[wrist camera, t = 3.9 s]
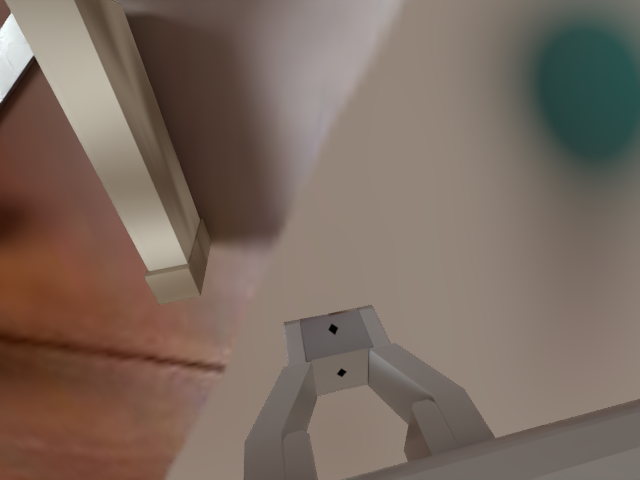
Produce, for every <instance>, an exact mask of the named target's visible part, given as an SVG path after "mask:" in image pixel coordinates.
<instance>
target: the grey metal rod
mask: <svg viewBox="0 0 640 480" xmlns="http://www.w3.org/2000/svg"><path fill="white" fill-rule="evenodd" d="M35 60H36V58H35V56H34V54H33V52H32V50H31V48H30V46H29V45H28V43H27V41H26V39H25V37H24V35H23V33H22V31H21V29H20V28H19V26H18V24H17V22H16V20H15V18H14V16H13V14H12V13H11V14H10V16H9V17H8V19H7V20H6V22H5V23H4V25H3V26H2V28H1V30H0V110H1V108H2V107H3V106H4V104H5V103H6V101H7V100H8V98H9V97H10V96H11V94H12V93H13V91H14V90H15V88H16V87H17V86H18V84H19V83H20V81H21V80H22V78H23V77H24V76H25V74H26V73H27V71H28V70H29V68H30V67H31V66H32V64H33V63H34V61H35Z"/></svg>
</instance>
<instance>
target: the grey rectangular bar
mask: <svg viewBox="0 0 640 480" xmlns="http://www.w3.org/2000/svg"><path fill="white" fill-rule="evenodd" d="M5 1H6V3H7V5H8V7H9V9H10V11H11V12H12V14H13V16H14V18H15V20H16V22H17V24H18V26H19V28H20V29H21V31H22V33H23V35H24V37H25V39H26V41H27V43H28V45H29V46H30V48H31V50H32V52H33V54H34V56H35V58H36V60H37V61H38V63H39V65H40V67H41V69H42V71H43V73H44V75H45V77H46V78H47V80H48V82H49V84H50V86H51V88H52V90H53V92H54V93H55V95H56V97H57V99H58V101H59V103H60V105H61V107H62V109H63V110H64V112H65V114H66V116H67V118H68V120H69V122H70V124H71V125H72V127H73V129H74V131H75V133H76V135H77V137H78V139H79V141H80V142H81V144H82V146H83V148H84V150H85V152H86V154H87V156H88V158H89V159H90V161H91V163H92V165H93V167H94V169H95V171H96V173H97V174H98V176H99V178H100V180H101V182H102V184H103V186H104V188H105V190H106V191H107V193H108V195H109V197H110V199H111V201H112V203H113V205H114V206H115V208H116V210H117V212H118V214H119V216H120V218H121V220H122V222H123V223H124V225H125V227H126V229H127V231H128V233H129V235H130V237H131V238H132V240H133V242H134V244H135V246H136V248H137V250H138V252H139V254H140V255H141V257H142V259H143V261H144V263H145V265H146V267H147V269H148V270H147V272H146V274H145V276H144V277H145V279H146V281H147V283H148V285H149V286H150V288H151V290H152V292H153V294H154V296H155V297H156V299H157V301H158V303H159V305H160V304H165V303H170V302H174V301H179V300H184V299H189V298H194V297H198V296H201V291H202V286H203V281H204V276H205V271H206V266H207V261H208V256H209V251H210V246H211V240H210V237H209V235H208V232H207V229H206V226H205V223H204V221H203V218H199V216H198V213H197V210H196V207H195V205H194V202H193V199H192V197H191V194H190V191H189V188H188V186H187V183H186V180H185V177H184V175H183V172H182V169H181V166H180V164H179V161H178V158H177V155H176V153H175V150H174V147H173V144H172V142H171V139H170V136H169V134H168V131H167V128H166V125H165V123H164V120H163V117H162V114H161V112H160V109H159V106H158V103H157V101H156V98H155V95H154V92H153V90H152V87H151V84H150V81H149V79H148V76H147V73H146V71H145V68H144V65H143V62H142V60H141V57H140V54H139V51H138V49H137V46H136V43H135V40H134V38H133V35H132V32H131V29H130V27H129V24H128V21H127V18H126V16H125V13H124V10H123V8H122V5H121V4H119V3H117V2H114V1H112V0H5Z"/></svg>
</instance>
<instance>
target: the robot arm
mask: <svg viewBox="0 0 640 480" xmlns="http://www.w3.org/2000/svg"><path fill="white" fill-rule="evenodd" d="M284 333H285V342H286V350H287V359H288V366H287V367H284V368H283V370H282V372H281V374H280V375H279V377H278V379H277V381H276V383H275V385H274V387H273V389H272V391H271V393H270V395H269V397H268V398H267V400H266V402H265V404H264V406H263V408H262V410H261V412H260V414H259V416H258V418H257V420H256V422H255V424H254V425H253V428H252V429H251V431H250V433H249V435H248V437H247V439H246V441H245V453H244V454H245V455H244V480H318V478H317V472H316V467H315V462H314V457H313V451H312V446H311V441H310V436H309V433H307V432H306V431H307V428H308V425H309V422H310V419H311V416H312V413H313V410H314V407H315V404H316V401H317V396H320V395H324V394H328V393H331V392H336V391H339V390H343V389H348V388H353V387H358V386H363V385H369V387H370V388H371V389H372V390H373V391H374V392H375V393H376V394H378V396H380V398H382V400H383V401H385V402H386V403H387V404H388V405H389V406H390V407H391V408H392V409H393V410H394V411H395V412H396V413H397V414H398V415H399V416H400V417H401V418H402V419H403V420H404V421H405V422H406V423H407V424H408V431H407V436H406V441H405V446H404V452H405V454H406V457H407V460H408V462H405V463H402V464H398V465H394V466H390V467H387V468H383V469H380V470H376V471H372V472H368V473H365V474H361V475H358V476H354V477H350V478H346V479H343V480H640V399H638V400H634V401H631V402H627V403H623V404H619V405H616V406H612V407H608V408H605V409H601V410H597V411H594V412H590V413H587V414H583V415H579V416H575V417H571V418H568V419H564V420H560V421H557V422H553V423H549V424H546V425H542V426H538V427H535V428H531V429H527V430H523V431H520V432H516V433H512V434H509V435H505V436H501V437H498V438H495V437H494V435H493V433H492V432H491V430H490V429H489V427H488V426H487V424H486V422H485V421H484V419H483V418H482V416H481V415H480V413H479V411H478V410H477V408H476V407H475V405H474V403H473V402H472V400H471V399H470V397H469V395H468V394H467V392H466V391H465V389H464V388H462V387H461V386H459V385H458V384H456V383H454V382H453V381H452V380H450V379H449V378H447V377H446V376H444V375H443V374H441V373H440V372H438V371H437V370H435V369H433V368H432V367H431V366H429V365H428V364H426V363H425V362H423V361H422V360H420V359H419V358H417V357H416V356H414V355H413V354H411V353H410V352H408V351H406V350H405V349H404V348H402V347H401V346H399V345H398V344H396V343H392V344H391V342H390V340H389V338H388V337H387V334H386V332H385V330H384V328H383V326H382V324H381V322H380V320H379V318H378V316H377V314H376V312H375V309H374V307H373V306H372V305H368V306H364V307H359V308H353V309H349V310H344V311H339V312H334V313H330V314H327V315H321V316H315V317H309V318H304V319H300V322H299V320H294V321H288V322H284Z"/></svg>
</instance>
